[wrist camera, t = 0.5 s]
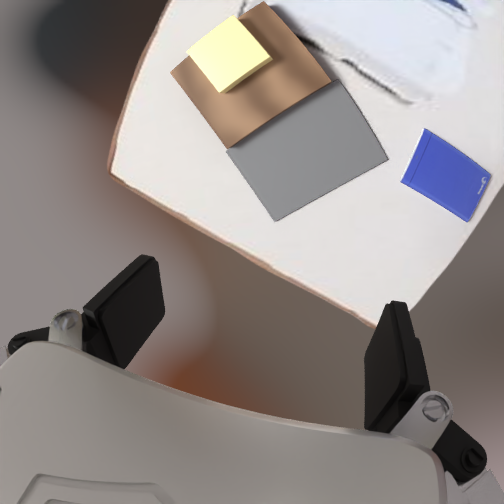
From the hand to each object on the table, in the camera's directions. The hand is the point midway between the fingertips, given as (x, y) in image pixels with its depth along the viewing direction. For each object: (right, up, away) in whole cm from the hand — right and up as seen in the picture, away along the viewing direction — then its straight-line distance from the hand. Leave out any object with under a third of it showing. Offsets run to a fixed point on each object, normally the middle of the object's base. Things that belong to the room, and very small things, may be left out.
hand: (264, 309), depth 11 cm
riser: (-1, +25, +21) cm, 33 cm away
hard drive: (+26, +13, +21) cm, 36 cm away
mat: (+6, +15, +24) cm, 29 cm away
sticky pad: (-3, +27, +19) cm, 33 cm away
